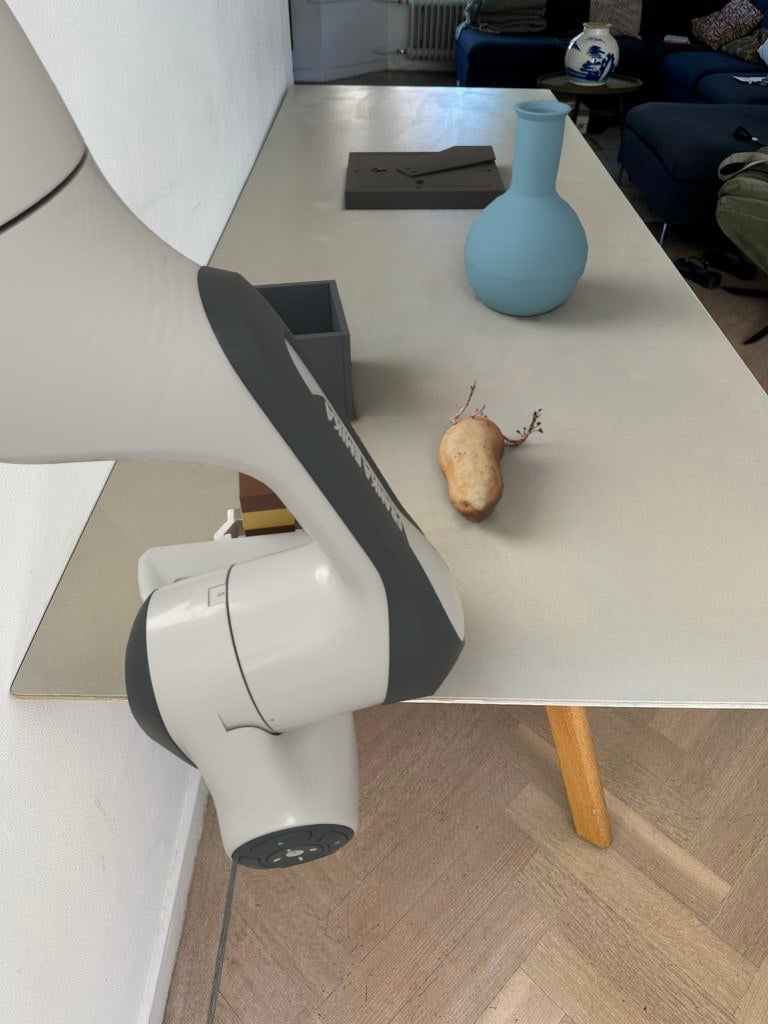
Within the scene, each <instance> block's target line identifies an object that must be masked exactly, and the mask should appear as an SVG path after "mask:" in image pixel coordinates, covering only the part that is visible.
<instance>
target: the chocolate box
mask: <svg viewBox="0 0 768 1024" xmlns="http://www.w3.org/2000/svg"><path fill="white" fill-rule="evenodd" d="M237 473H238V474H237V475H238V477H237V478H238V500H239V506H240V508H241V515H242V520H243V526H244V530H245V535H244V536H245V537H251V536H260V535H269V534H278V533H287V532H296V530H295V518H294V516H293V515H292V514H291V512H290V511H289V510H288V509H287V507H286V506H285V505H284V504H283V502H282V501H281V500H280V499H279V497H278V496H277V495H276V494H275V493H274V491H273V490H272V489H271V488H269V487H268V486H267V485H266V484H264V483H263V482H261V481H259V480H257V479H255V478H253V477H251V476H249V475H246V474H244V473H241V472H238V471H237Z"/></svg>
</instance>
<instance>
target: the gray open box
mask: <svg viewBox="0 0 768 1024" xmlns="http://www.w3.org/2000/svg"><path fill="white" fill-rule="evenodd" d="M253 286H254V287H255V288H256V289H257V291H258V292H259V293H260V294H261V295H262V296H263V297H264V298H265V299H266V300H267V301H268V303H269V304H270V305H271V306H272V308H273V309H274V310H275V311H276V313H277V314H278V315H279V317H280V318H281V319H282V321H283V322H284V323H285V325H286V326H287V327H288V329H289V330H290V332H291V333H292V335H293V336H294V337H295V339H296V340H297V342H298V343H299V345H300V346H301V348H302V349H303V351H304V352H305V354H306V355H307V357H308V358H309V360H310V361H311V363H312V364H313V366H314V367H315V369H316V370H317V372H318V373H319V375H320V376H321V378H322V379H323V381H324V382H325V384H326V385H327V387H328V388H329V390H330V392H331V393H332V395H333V396H334V398H335V399H336V401H337V403H338V404H339V406H340V407H341V409H342V411H343V412H344V414H345V415H346V417H347V419H348V420H349V421H351V420H352V421H353V420H354V410H353V409H354V407H353V406H354V405H353V379H352V377H353V375H352V355H351V354H352V352H351V333H350V330H349V325H348V322H347V318H346V314H345V311H344V307H343V303H342V300H341V296H340V293H339V292H340V291H339V288H338V285H337V281H336V279H324V280H323V279H322V280H309V281H298V282H297V281H295V282H283V283H282V282H281V283H269V284H268V283H267V284H256V285H254V284H253Z"/></svg>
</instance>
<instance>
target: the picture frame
mask: <svg viewBox="0 0 768 1024" xmlns="http://www.w3.org/2000/svg"><path fill="white" fill-rule="evenodd" d="M496 160H497V157H496V154H495V151H494V148H493V145H452V146H450V147H448V148H445V149H443V150H440V151H349V152H348V161H347V169H346V178H345V187H344V203H345V206H344V207H345V210H385V209H386V210H394V209H395V210H397V209H400V210H401V209H402V210H403V209H405V210H406V209H407V210H409V209H410V210H411V209H416V210H417V209H418V210H419V209H422V210H423V209H428V210H429V209H431V210H432V209H433V210H434V209H485V208H486V207H487V206H488V205H489V204H490V203H491V202H493V201H494V200H495V199H496V198H497V197H499V196H500V195H502V194H504V193H505V192H506V191H507V190H506V188H505V185H504V181H503V179H502V177H501V174H500V171H499V168H498V166H497V163H496Z"/></svg>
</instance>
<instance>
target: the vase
mask: <svg viewBox="0 0 768 1024" xmlns="http://www.w3.org/2000/svg"><path fill="white" fill-rule="evenodd" d="M513 109H514V112H515V113H516V115H517V116H516V122H515V123H516V124H515V130H514V143H513V156H512V168H511V172H512V173H511V181H510V184H509V188H508V189H507V190H506V192H505V193H504V194H502V195H500V196H499V197H497V198H496V199H495V200H494V201H493V202H491V203H490V204H489V205H488V206H487V207H486V208H483V209H482V211H480V212H479V214H478V215H477V216H476V218H475V219H474V221H472V223H471V225H470V227H469V230H468V232H467V234H466V236H465V243H464V248H463V252H464V253H463V254H464V258H463V259H464V269H465V273H466V276H467V281H468V283H469V285H470V287H471V288H472V290H473V292H474V294H475V295H476V297H477V298H478V299H479V300H480V301H482V302H483V303H484V304H485V305H486V306H488V307H489V308H490V309H491V310H493V311H496V312H499V313H501V314H504V315H508V316H512V317H532V316H538V315H543V314H545V313H548V312H549V311H551V310H553V309H555V308H557V307H559V306H561V305H562V304H563V303H564V302H565V301H566V300H567V298H569V296H570V295H571V294H572V293H573V290H574V289H576V286H577V285H578V283H579V281H580V280H581V278H582V276H583V275H584V273H585V269H586V266H587V261H588V254H589V245H588V238H587V234H586V231H585V228H584V226H583V224H582V221H581V219H580V218H579V216H578V214H577V212H576V211H575V210H574V209H573V207H572V206H571V205H570V203H568V202H567V201H566V200H565V199H564V198H562V197H561V196H560V194H559V193H558V192H557V184H556V183H557V178H558V174H559V167H560V161H561V157H562V156H561V155H562V150H563V143H564V137H565V129H566V128H565V126H566V118H567V116H568V115H569V114H570V113H571V111H572V110H573V108H572V107H571V106H570V104H567V103H565V102H562V101H556V100H549V99H531V100H523V101H519V102H517V103H515V104H514V105H513Z"/></svg>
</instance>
